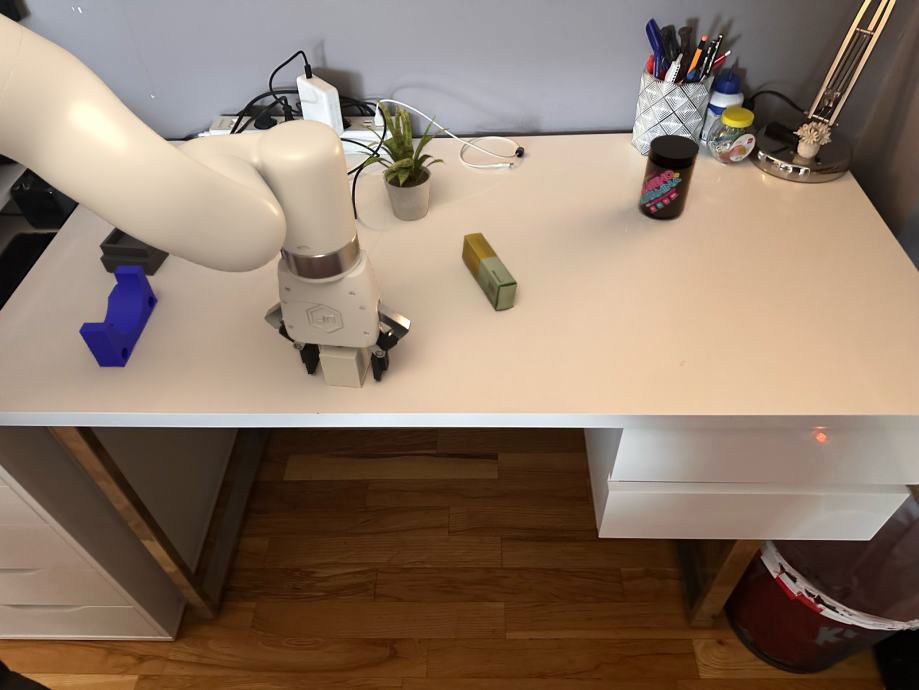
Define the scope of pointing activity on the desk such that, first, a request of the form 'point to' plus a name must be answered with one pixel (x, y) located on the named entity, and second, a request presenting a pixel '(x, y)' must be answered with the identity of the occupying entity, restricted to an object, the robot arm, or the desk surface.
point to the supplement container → (668, 176)
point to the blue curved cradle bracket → (121, 318)
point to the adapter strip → (130, 253)
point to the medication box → (489, 271)
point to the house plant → (404, 167)
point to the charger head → (344, 365)
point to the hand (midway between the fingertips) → (347, 368)
